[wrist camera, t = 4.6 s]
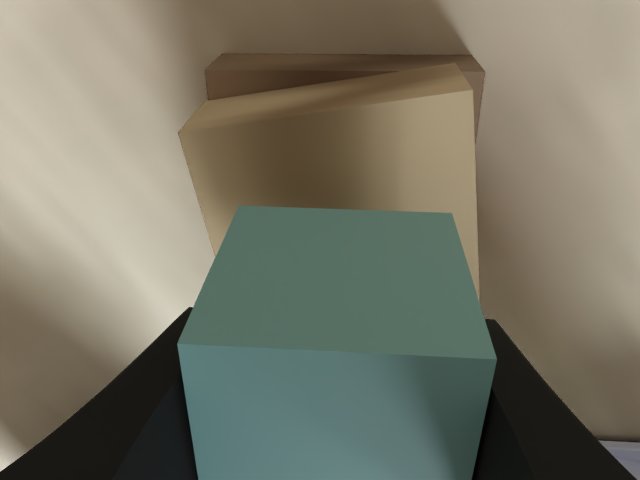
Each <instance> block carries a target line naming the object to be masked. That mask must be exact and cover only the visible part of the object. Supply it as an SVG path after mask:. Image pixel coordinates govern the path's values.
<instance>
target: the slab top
mask: <svg viewBox="0 0 640 480" xmlns="http://www.w3.org/2000/svg"><path fill="white" fill-rule="evenodd" d="M178 135H179V138H180V141H181V145H182V148H183V151H184V155H185V158H186V161H187V165H188V168H189V171H190V175H191V178H192V181H193V184H194V188H195V191H196V194H197V198H198V201H199V204H200V208H201V211H202V214H203V218H204V221H205V224H206V228H207V231H208V234H209V237H210V241H211V244H212V247H213V251H214V254H215V257H216V255H217V253H218V251H219V248H220V246H221V244H222V242H223V239H224V237H225V235H226V233H227V230H228V228H229V226H230V223H231V221H232V219H233V217H234V214H235V212H236V210H237V208H238V206H265V207H293V208H322V209H351V210H380V211H409V212H438V213H452V215H453V218H454V221H455V224H456V228H457V231H458V234H459V237H460V241H461V244H462V247H463V250H464V254H465V257H466V260H467V263H468V267H469V270H470V273H471V276H472V280H473V283H474V286H475V289H476V293H477V296H478V299H479V302H480V290H479V259H478V228H477V198H476V167H475V136H474V105H473V89H472V87H471V86H470V84H469V83H468V81H467V80H466V78H465V77H464V75H463V74H462V72H461V71H460V69H459V68H458V66H457V65H456V63H451V64H444V65H438V66H431V67H424V68H418V69H411V70H405V71H398V72H392V73H385V74H379V75H372V76H365V77H359V78H352V79H346V80H339V81H333V82H326V83H320V84H313V85H306V86H300V87H293V88H287V89H280V90H274V91H267V92H260V93H254V94H247V95H241V96H234V97H228V98H221V99H215V100H208V101H205V102H204V103H203V104H202V105H201V106H200V108H199V109H198V110H197V111H196V112H195V113H194V114H193V116H192V117H191V118H190V119H189V120H188V121H187V123H186V124H185V125H184V126H183V127H182V128H181V129H180V131H179V132H178Z"/></svg>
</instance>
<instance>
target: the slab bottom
mask: <svg viewBox="0 0 640 480" xmlns="http://www.w3.org/2000/svg"><path fill="white" fill-rule="evenodd" d="M451 63H456V65H457V66H458V68H459V69H460V71H461V72H462V74H463V75H464V77H465V78H466V80H467V81H468V83H469V84H470V86H471V87H472V89H473V105H474V136H475V143H476V136H477V128H478V121H479V114H480V106H481V99H482V92H483V84H484V77H485V71H484V70H483V68H482V67H481V66H480V65H479V63H478V62H477V61H476V60H475V59H474V57H473V56H472V55H369V54H221V55H220V56H219V57H218V58H217V59H216V60H215V61H214V62H213V63H212V64H211V65H209V66H208V67H207V68H206V69H205V76H206V85H207V94H208V100H215V99H221V98H228V97H234V96H241V95H247V94H254V93H260V92H267V91H274V90H280V89H287V88H293V87H300V86H306V85H313V84H320V83H326V82H333V81H339V80H346V79H352V78H359V77H365V76H372V75H379V74H385V73H392V72H398V71H405V70H411V69H418V68H424V67H431V66H438V65H444V64H451Z"/></svg>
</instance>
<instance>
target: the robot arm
mask: <svg viewBox="0 0 640 480" xmlns="http://www.w3.org/2000/svg"><path fill="white" fill-rule="evenodd" d="M192 309H193V307H189V308H188V309H187V310H186V311H184V312H183V313H182V314H181V315H180V316H179V317H178V318H177V319H176V320H175V321H174V322H173V323H172V324H171V325H170V326H169V327H168V328H167V329H166V330H165V331H164V332H163V333H162V334H161V335H160V336H159V337H158V338H157V339H156V340H155V341H154V342H153V343H152V344H151V345H150V346H149V347H147V348H146V349H145V350H144V351H143V352H142V353H141V354H140V355H139V356H138V357H137V358H136V359H135V360H134V361H133V362H132V363H131V364H130V365H129V366H128V367H127V368H125V369H124V370H123V371H122V372H121V373H120V374H119V375H118V376H117V377H116V378H115V379H114V380H113V381H112V382H110V383H109V384H108V385H107V386H106V387H105V388H104V389H103V390H102V391H101V392H100V393H98V394H97V395H96V396H95V397H94V398H93V399H91V400H90V401H89V402H88V403H87V404H86V405H84V406H83V407H82V408H81V409H80V410H79V411H77V412H76V413H75V414H74V415H73V416H72V417H70V418H69V419H68V420H67V421H66V422H65V423H63V424H62V425H61V426H60V427H59V428H57V429H56V430H55V431H54V432H53V433H51V434H50V435H49V436H48V437H46V438H45V439H44V440H43V441H41V442H40V443H39V444H37V445H36V446H35V447H33V448H32V449H31V450H30V451H28V452H27V453H26V454H24V455H23V456H21V457H20V458H19V459H17V460H16V461H15V462H13V463H12V464H10V465H9V466H8V467H6V468H5V469H4V470H2V471H1V472H0V480H198V474H197V467H196V461H195V455H194V448H193V442H192V435H191V429H190V423H189V416H188V410H187V403H186V397H185V391H184V384H183V378H182V371H181V365H180V359H179V352H178V346H177V343H178V341H179V338H180V336H181V334H182V332H183V329H184V327H185V325H186V323H187V320H188V318H189V316H190V314H191V311H192ZM485 322H486V325H487V328H488V332H489V335H490V338H491V341H492V345H493V348H494V351H495V354H496V358H497V362H496V367H495V371H494V376H493V381H492V385H491V390H490V395H489V400H488V404H487V409H486V414H485V418H484V423H483V428H482V433H481V437H480V442H479V447H478V451H477V456H476V461H475V466H474V470H473V475H472V480H640V443H638V442H619V441H600V440H597V439H596V438H595V437H594V436H593V434H592V433H591V432H590V431H589V430H588V429H587V428H586V427H585V426H584V425H583V424H582V423H581V422H580V421H579V419H578V418H577V417H576V416H575V415H574V414H573V413H572V412H571V410H570V409H569V408H568V407H567V406H566V405H565V404H564V403H563V401H562V400H561V399H560V398H559V397H558V396H557V395H556V393H555V392H554V391H553V390H552V389H551V388H550V387H549V385H548V384H547V383H546V382H545V381H544V380H543V378H542V377H541V376H540V375H539V374H538V372H537V371H536V370H535V369H534V367H533V366H532V365H531V364H530V363H529V361H528V360H527V359H526V358H525V356H524V355H523V354H522V353H521V351H520V350H519V349H518V348H517V346H516V345H515V344H514V343H513V341H512V340H511V339H510V338H509V336H508V335H507V334H506V333H505V331H504V330H503V329H502V328H501V326H500V325H499V324H498V323H497V322H496V321H495V320H494V319H485Z"/></svg>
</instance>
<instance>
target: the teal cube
mask: <svg viewBox="0 0 640 480" xmlns="http://www.w3.org/2000/svg"><path fill="white" fill-rule="evenodd" d="M177 346H178V352H179V359H180V365H181V371H182V378H183V384H184V391H185V397H186V403H187V410H188V416H189V423H190V429H191V435H192V442H193V448H194V455H195V461H196V467H197V474H198V480H472V475H473V470H474V466H475V461H476V456H477V451H478V447H479V442H480V437H481V433H482V428H483V423H484V418H485V414H486V409H487V404H488V400H489V395H490V390H491V385H492V381H493V376H494V371H495V367H496V362H497V358H496V354H495V351H494V348H493V345H492V341H491V338H490V335H489V332H488V328H487V325H486V322H485V319H484V315H483V312H482V309H481V306H480V302H479V299H478V296H477V293H476V289H475V286H474V283H473V280H472V276H471V273H470V270H469V267H468V263H467V260H466V257H465V254H464V250H463V247H462V244H461V241H460V237H459V234H458V231H457V228H456V224H455V221H454V218H453V215H452V213H438V212H409V211H380V210H351V209H322V208H293V207H265V206H238V208H237V210H236V212H235V214H234V217H233V219H232V221H231V223H230V226H229V228H228V230H227V233H226V235H225V237H224V239H223V242H222V244H221V246H220V248H219V251H218V253H217V255H216V257H215V260H214V262H213V264H212V266H211V269H210V271H209V273H208V275H207V278H206V280H205V282H204V284H203V287H202V289H201V291H200V293H199V296H198V298H197V300H196V302H195V305H194V307H193V309H192V311H191V314H190V316H189V318H188V320H187V323H186V325H185V327H184V329H183V332H182V334H181V336H180V338H179V341H178V343H177Z"/></svg>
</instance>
